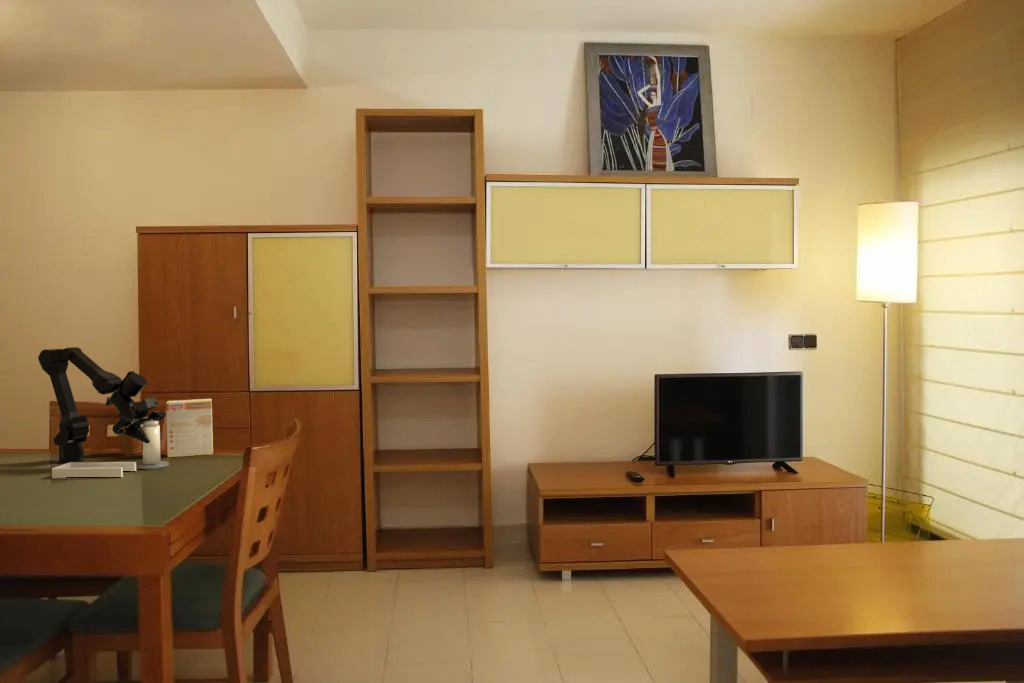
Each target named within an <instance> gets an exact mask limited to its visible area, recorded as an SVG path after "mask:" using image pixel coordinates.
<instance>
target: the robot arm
mask: <svg viewBox="0 0 1024 683" xmlns="http://www.w3.org/2000/svg"><path fill="white" fill-rule="evenodd" d="M37 356H38V357H37V360H38V362H39V365H40V367H41V369H42V370H43V371H44V372H45V373H46V374H47V375H48V376H49V378H50V381H51V385H52V388H53V392H54V395H55V399H56V401H57V405H58V409H59V412H60V416H61V417H60V421H59V422H58V423H59V424H58V427H59V432H58V433H57V434H56V435H55V437H54V438H53V444H54V445H55V446H58V459H59V460H57V461H56V463H57V464H66V463H68V462H82V461H84V460H86V458H85V456H84V447H83V443H85V442H86V441H87V438H88V434H89V433H90V426H91V425H90V424H89V422H88V416H86V414H84V415H82V414H81V413H80V412H78V409H77V408H78V407H77V405H76V401H75V398H74V394H73V391H72V388H71V385H70V382H69V381H70V380H69V378H68V374H67V370H68V367H69V362H70V363H71V364H73V366H74V367H75V368H77V369H78V370H79V371H80V372H82V374H84V375H85V376H86V377H87V378H89V379H90V380H91V383H92V384H91V385H92V387H93V388H94V389H95V390H96V392H97V393H98V394H99V395H110V396H109V397H106V402H105V406H106V407H108V406H114V408H115V409H116V410H117V411H118V414H117V416H118V417H119V418H118V420H117V421H116V422H115V423H114V425H113V426H112V428H111V429H112V432H113V433H114V434H115V435H116V436H117V435H118V434H122V433H123V429H122V428H125V433H124V435H128V436H131V437H133V438H136V439H138V440H140V441H142V443H143V442H145V443H149V442H150V440H149V439H148V437H147V436H146V434H145V433H144V431H143V430H142V429H141V425H142V424H143V422H144V421H159V424H160V423H162V422H161V421H163V420H164V418H165V417H166V414H165V412H163V410H156V411H152V412H151V413H150V410H152V409H155V408H157V406H158V404H159V400H158V399H157V398H156V397H154V396H150V397H149V398H144V399H142V400H140V401H136V402H135V400H134V399H133V398H134V397H137V396H138V394H139V393H140V392H142V390H143V389H144V388H145V386H146V385H147V383H148V382H147V379H146V378H145V377H144V376H142V375H141V374H138V373H136V372H135V371H134V370H133V371H132V370H131V371H127V373H126V375H125V377H124V378H123V379H122V378H121V377H120V376H118V375H117V374H115V373H113V372H111V371H107V370H104V369H103V368H102V367H101V366H100V365H98V364H97V362H95V361H94V360H92V359H91V358H90V357H89V356H88V355H87V354H86V353H85V352H83V350H82V349H81V348H80V347H78V346H77V347H76V346H74V347H73V346H71V347H66V348H49V349H46V348H45V349H42V350H41V351H40V352H39V355H37ZM132 397H133V398H132ZM148 414H149V415H148ZM147 415H148V416H147ZM118 436H119V435H118ZM162 439H163V438H162V434H161V433H160V441H161V440H162ZM81 460H82V461H81Z"/></svg>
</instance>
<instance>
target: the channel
mask: <svg viewBox="0 0 1024 683" xmlns="http://www.w3.org/2000/svg"><path fill="white" fill-rule="evenodd" d="M136 464H137V462H136V461H91V462H90V461H89V462H88V461H86V462H85V461H79V462H69V463H62V465H58V466H55V467H52V468H51V479H67V478H66V477H122V478H124V472H123V471H136V472H137V469H136Z"/></svg>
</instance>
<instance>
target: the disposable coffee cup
mask: <svg viewBox="0 0 1024 683" xmlns="http://www.w3.org/2000/svg"><path fill="white" fill-rule="evenodd" d="M142 426H143V424H142V425H141V429H142V430H143V428H142ZM122 429H123V433H122V434H118V440H119V447H120V452H121V455H122V454H124V455H123V456H131V455H130V454H137V453H139V452H141V453H142V449H143V441H140V440H138V439H136V438H133V437H131V436H128V435H124V433H125V428H122ZM137 455H138V454H137Z"/></svg>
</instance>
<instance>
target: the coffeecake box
mask: <svg viewBox="0 0 1024 683" xmlns="http://www.w3.org/2000/svg"><path fill="white" fill-rule="evenodd" d="M212 400H213V399H212V398H202V399H200V398H198V399H197V398H195V399H175V400H167V401H166V403H165V405H166V406H165V408H166V409H165V412H166V414H165V415H166V416H165V417H166V418H165V419H166V443H167V445H166V446H167V447H166V449H167V450H166V451H167V456H166V457H167V458H178V457H179V458H180V457H194V456H195V455H196V456H208V455H210V456H211V455H213V454H214V453H213V452H214V446H213V444H214V441H213V440H214V438H213V437H214V436H213V403H212Z"/></svg>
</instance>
